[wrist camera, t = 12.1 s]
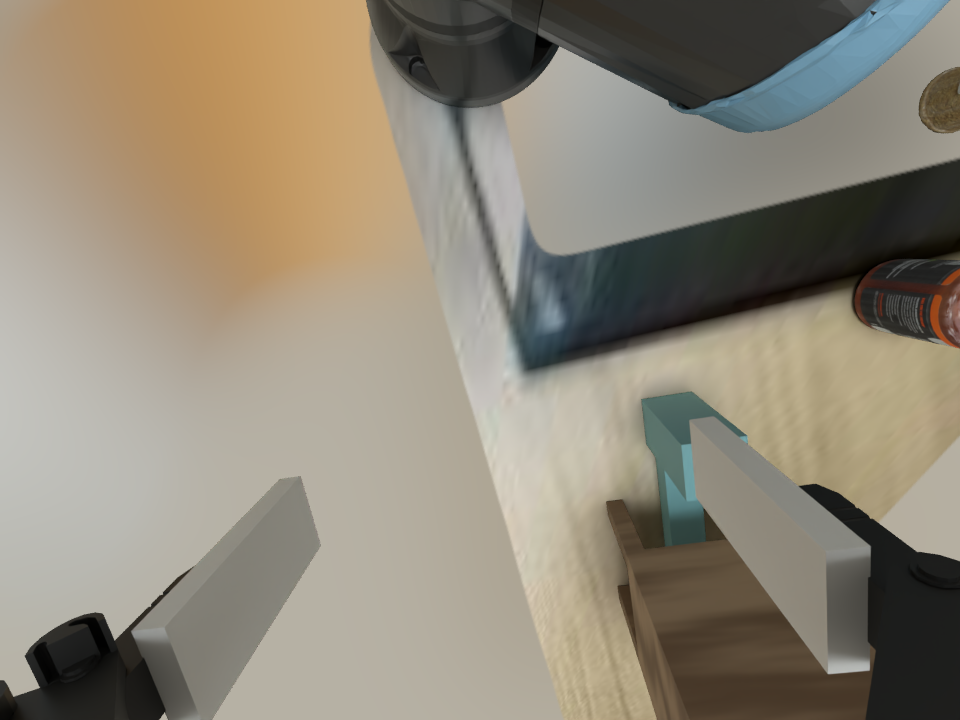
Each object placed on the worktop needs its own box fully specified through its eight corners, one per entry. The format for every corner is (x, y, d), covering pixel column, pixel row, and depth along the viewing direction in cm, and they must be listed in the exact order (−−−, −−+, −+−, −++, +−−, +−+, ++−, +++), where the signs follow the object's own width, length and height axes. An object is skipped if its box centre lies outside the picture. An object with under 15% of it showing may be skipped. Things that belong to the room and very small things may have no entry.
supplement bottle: (875, 344, 40) (1015, 382, 29) (835, 293, 39) (963, 311, 28) (941, 297, 39) (1113, 317, 28) (901, 242, 38) (1061, 241, 27)
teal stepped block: (632, 400, 42) (669, 446, 33) (700, 390, 42) (759, 434, 32) (657, 614, 47) (695, 708, 38) (718, 607, 47) (773, 701, 37)
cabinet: (606, 501, 45) (695, 734, 23) (747, 483, 43) (978, 712, 22) (621, 613, 48) (713, 913, 26) (754, 599, 46) (964, 902, 25)
